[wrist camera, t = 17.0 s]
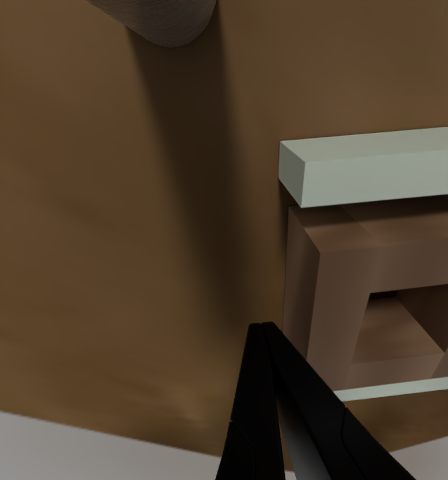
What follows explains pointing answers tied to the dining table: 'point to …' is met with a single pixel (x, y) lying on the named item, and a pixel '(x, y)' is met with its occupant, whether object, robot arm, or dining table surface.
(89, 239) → the dining table surface
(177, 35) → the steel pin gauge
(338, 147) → the open c-shaped clip
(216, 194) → the dining table surface
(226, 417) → the dining table surface
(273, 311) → the dining table surface
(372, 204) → the walnut block
